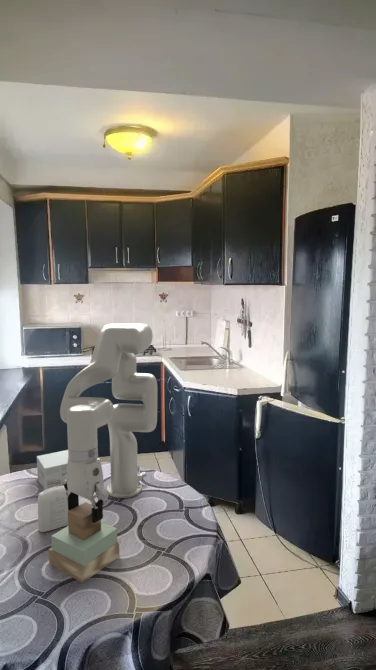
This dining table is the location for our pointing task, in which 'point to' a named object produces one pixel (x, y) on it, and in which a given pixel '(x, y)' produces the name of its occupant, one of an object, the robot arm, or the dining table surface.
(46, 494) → the photo printer
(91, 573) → the maple base block
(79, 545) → the sage top block
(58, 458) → the supplement box
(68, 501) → the robot arm
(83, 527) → the walnut cube
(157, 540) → the dining table surface
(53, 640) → the dining table surface
